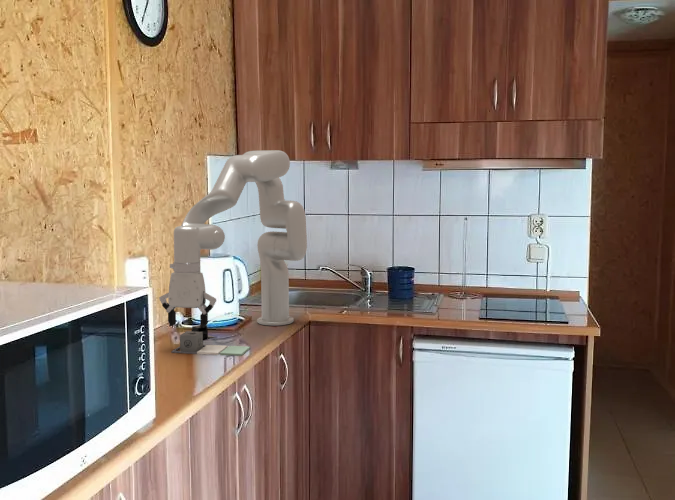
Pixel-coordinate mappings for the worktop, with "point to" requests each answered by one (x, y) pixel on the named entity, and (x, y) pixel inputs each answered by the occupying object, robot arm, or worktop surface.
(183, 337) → the dice cube
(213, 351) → the game board
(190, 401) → the worktop surface
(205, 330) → the black angular block
